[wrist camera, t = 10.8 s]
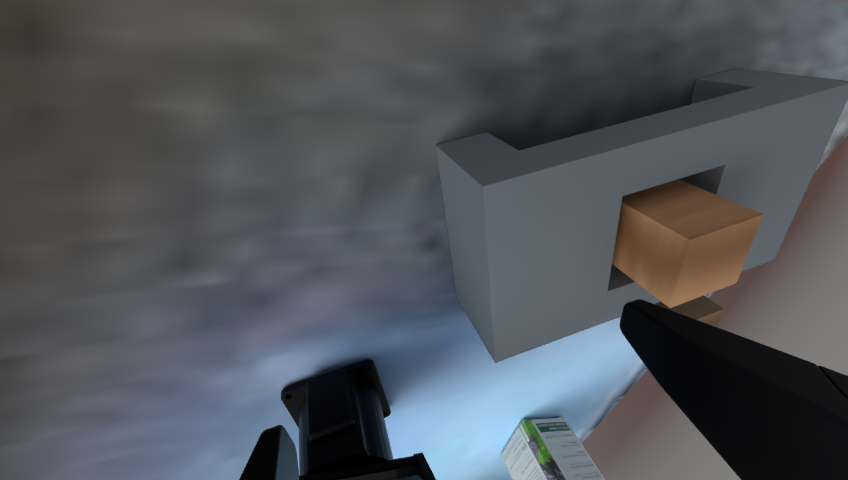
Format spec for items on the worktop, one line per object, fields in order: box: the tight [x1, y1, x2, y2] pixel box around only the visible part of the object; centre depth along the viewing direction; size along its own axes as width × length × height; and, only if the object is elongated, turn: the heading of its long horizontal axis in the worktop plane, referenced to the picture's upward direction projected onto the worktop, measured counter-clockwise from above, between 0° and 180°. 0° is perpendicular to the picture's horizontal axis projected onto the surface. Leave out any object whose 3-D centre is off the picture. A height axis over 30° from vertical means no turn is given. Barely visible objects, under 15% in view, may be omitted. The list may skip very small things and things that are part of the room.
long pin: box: [612, 179, 764, 308], centre depth 21 cm, size 4×4×9 cm
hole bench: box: [436, 69, 848, 363], centre depth 22 cm, size 11×20×6 cm, turn 99°
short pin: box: [655, 296, 723, 327], centre depth 31 cm, size 4×4×5 cm
